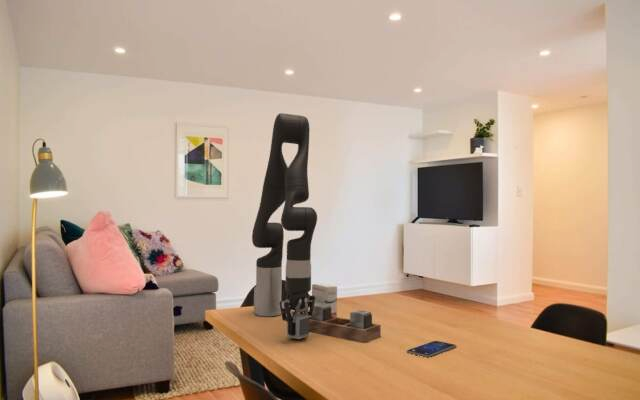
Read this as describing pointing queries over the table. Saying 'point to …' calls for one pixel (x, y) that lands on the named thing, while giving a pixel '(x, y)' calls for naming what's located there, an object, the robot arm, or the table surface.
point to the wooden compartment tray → (344, 324)
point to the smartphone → (431, 349)
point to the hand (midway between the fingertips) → (297, 333)
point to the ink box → (326, 296)
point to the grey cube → (300, 326)
